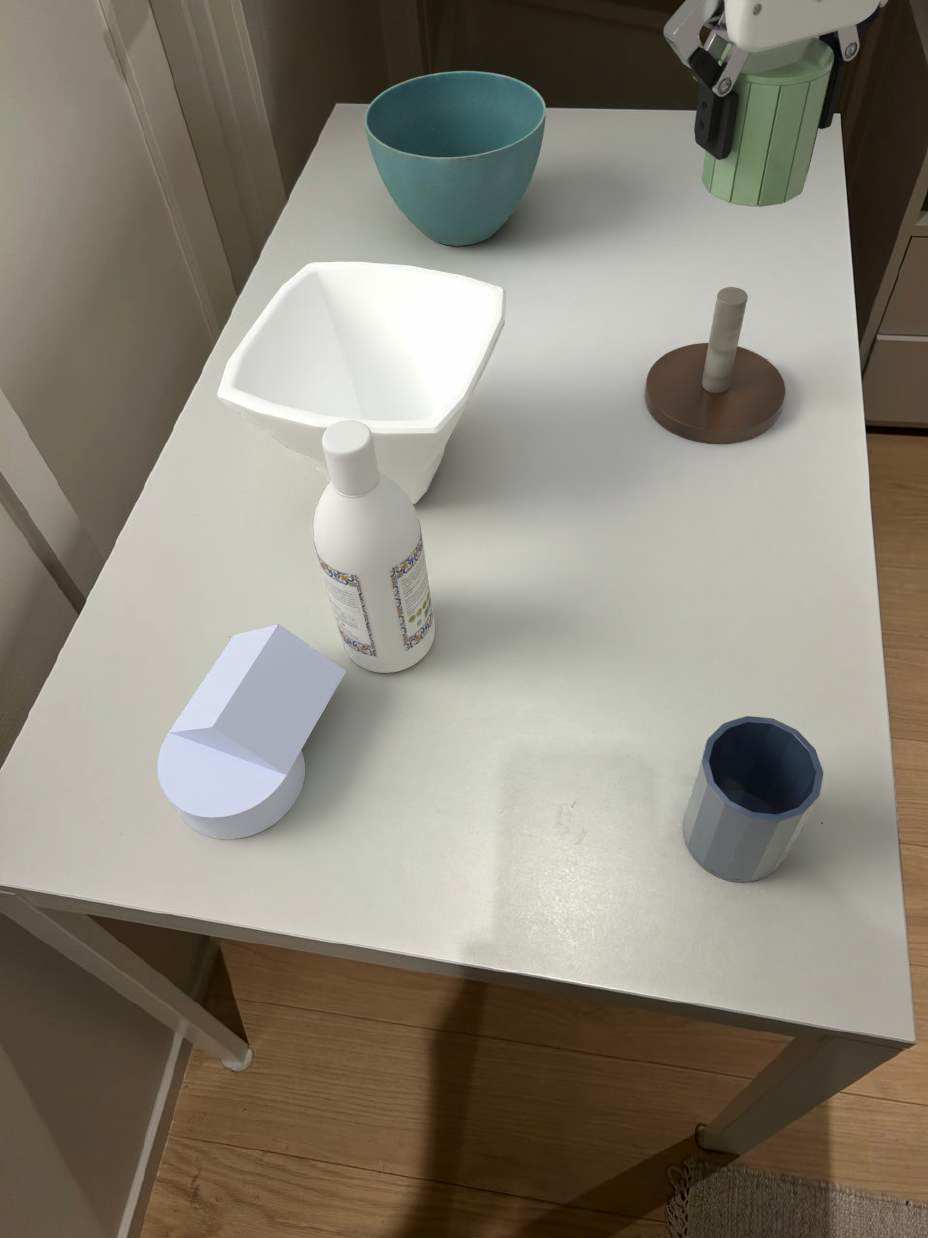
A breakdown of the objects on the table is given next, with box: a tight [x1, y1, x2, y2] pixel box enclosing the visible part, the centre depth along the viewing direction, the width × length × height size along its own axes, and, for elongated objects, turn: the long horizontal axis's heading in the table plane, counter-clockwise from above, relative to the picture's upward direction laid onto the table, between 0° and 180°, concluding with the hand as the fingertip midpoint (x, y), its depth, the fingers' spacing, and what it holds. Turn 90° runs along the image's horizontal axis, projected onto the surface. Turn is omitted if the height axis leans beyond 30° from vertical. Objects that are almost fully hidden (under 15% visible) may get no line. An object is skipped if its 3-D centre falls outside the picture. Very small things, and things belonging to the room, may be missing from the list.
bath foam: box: [312, 420, 436, 674], centre depth 61 cm, size 7×7×20 cm
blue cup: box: [682, 715, 824, 883], centre depth 55 cm, size 6×6×9 cm
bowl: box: [217, 261, 507, 505], centre depth 74 cm, size 19×19×14 cm
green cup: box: [701, 37, 834, 208], centre depth 61 cm, size 7×7×8 cm
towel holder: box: [644, 286, 786, 445], centre depth 79 cm, size 12×12×10 cm
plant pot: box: [363, 70, 547, 247], centre depth 98 cm, size 18×18×12 cm
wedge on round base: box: [156, 623, 347, 841], centre depth 62 cm, size 9×7×13 cm
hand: (762, 132), depth 61 cm, fingers closed on green cup, 7 cm apart
